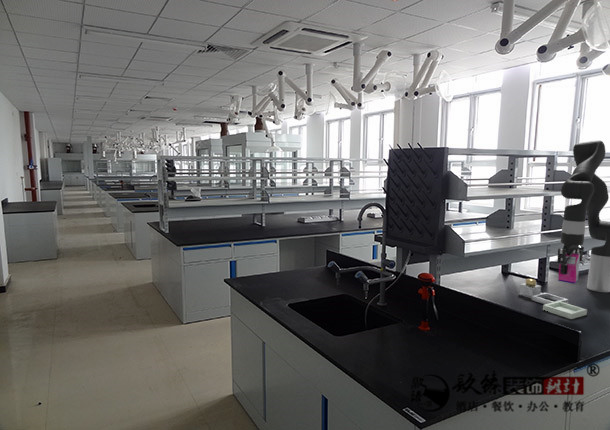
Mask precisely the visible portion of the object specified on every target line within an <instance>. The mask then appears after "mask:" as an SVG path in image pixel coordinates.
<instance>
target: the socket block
mask: <svg viewBox="0 0 610 430" xmlns="http://www.w3.org/2000/svg"><path fill="white" fill-rule="evenodd" d="M518 295H520V296H522V297H525V298H529V299H531V301H533V302H537V303H540V304H542V305H545V304H549V303H553V302H557V301H560V302H564V303H567V304H569V301H570V299H569V298H565V297H561V296H557V295H554V294H551V293H548V292H542V286H541V285H539V284H536V285H535V286H529V285H527V284H526V282H524V283H520V285H519V293H518Z"/></svg>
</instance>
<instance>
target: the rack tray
mask: <svg viewBox="0 0 610 430" xmlns="http://www.w3.org/2000/svg"><path fill="white" fill-rule="evenodd" d="M544 310H545V312H547V311H548V313H551V314H554V315H557V316H560V317H564V318H566V319H568V320H574V319H576V318H580V317H584V316H586V315H588V314H587V313H588V309H587V308H582V307H580V306H577V305H572V304H570V303H568V304H567V303H564V302H560V301H557V302H555V301H553V303H549V304H542V311H544Z"/></svg>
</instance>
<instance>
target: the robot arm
mask: <svg viewBox="0 0 610 430" xmlns="http://www.w3.org/2000/svg"><path fill="white" fill-rule="evenodd" d="M572 154H573V159H574V162H575V166H576V167H575V168H574V170H573V172H572V174H571V175H570V177H569V178H567V179H566V180H565V181H564V183H563V184H562V185H561V188H560V194H561V196H562V197H563V198H565V199H570V200H581V201H580V202H579V203H577V204H571V205H570V204H568V205H566V206H565V207H564V214H563V221H562V226H561V235H560V243H561V244H563V247H562V248H558V250H557V261H556V262H557V264H559V265H560V264H561V269H560V273H561V274H564V275H566V274H567V269H568V263H569V261H570V260H571V256H572V255H573V254H575V253H576V254H578V253H580V260H579V262H582V261H583V256H584V250H585V247H584V246H583V245H584V242H585V233H586V217H587V226H588V234H589V236H590V237H591V238H592V239H593V240H597V241H604V244H603V245H599V246H598V245H597V246H593V247H591V250H590V258H589V267H588V273H587V274H588V275H587V283H586V284H587V285H586V288H587V290H590V291H593V292H598V293H610V221H606V220H601V219H600V213H601V211H602V209H604V207H605V206H606V204H607V203H608V201H609V198H610V197H609V191H608V186H607V184H606V182H605V181H604V180H603V179H602V178H601V177H599V176H598V175H597V174H596V173H595V172H596V171H597V169H598V168H599V167H600V166H601V164H602V163H603V161H604V160H605V157H606V146H605V144H604V142H603V140H592V141H591V140H590V141H584V142H577V143H576V144H574V145H573V148H572ZM566 254H567V255H570V256H569V257H566ZM560 259H561V260H560Z"/></svg>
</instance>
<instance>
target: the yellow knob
mask: <svg viewBox="0 0 610 430" xmlns="http://www.w3.org/2000/svg"><path fill="white" fill-rule="evenodd" d="M525 283H526V284H527V285H529V286H535V285H537V280H536V279H533V278H525Z"/></svg>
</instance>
